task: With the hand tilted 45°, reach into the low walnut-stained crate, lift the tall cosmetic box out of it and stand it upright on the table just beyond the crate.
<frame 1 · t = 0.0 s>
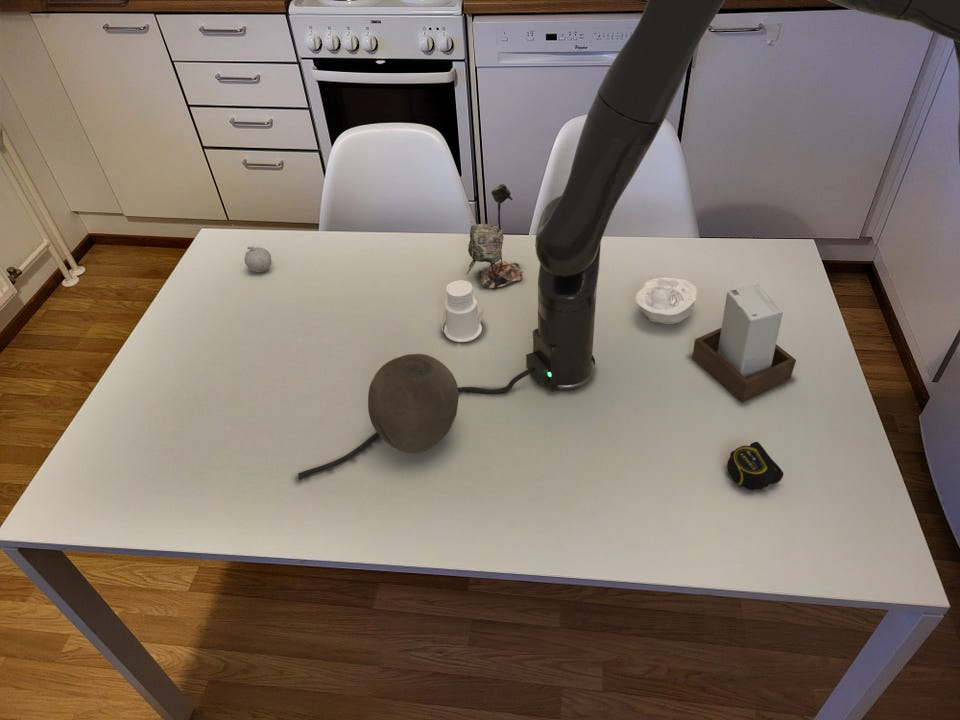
garlic: (260, 269, 161), on the table
crate: (740, 368, 132), on the table
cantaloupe: (419, 435, 125), on the table
cell model: (664, 316, 144), on the table
tape measure: (751, 473, 116), on the table
cosmetic box: (739, 369, 132), resting in crate
downlight: (463, 331, 143), on the table
plant with pod: (495, 278, 155), on the table
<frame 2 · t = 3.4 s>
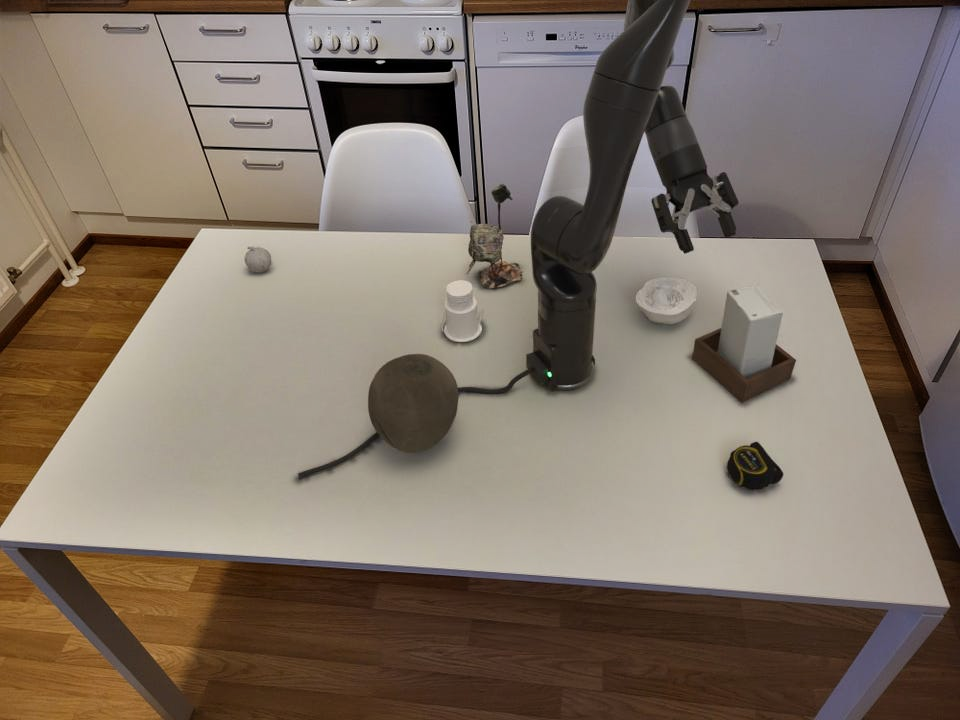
hand: (710, 244, 127), 19 cm above the table, tool tilted 45°, fingers open, 8 cm apart
nothing on the table moved.
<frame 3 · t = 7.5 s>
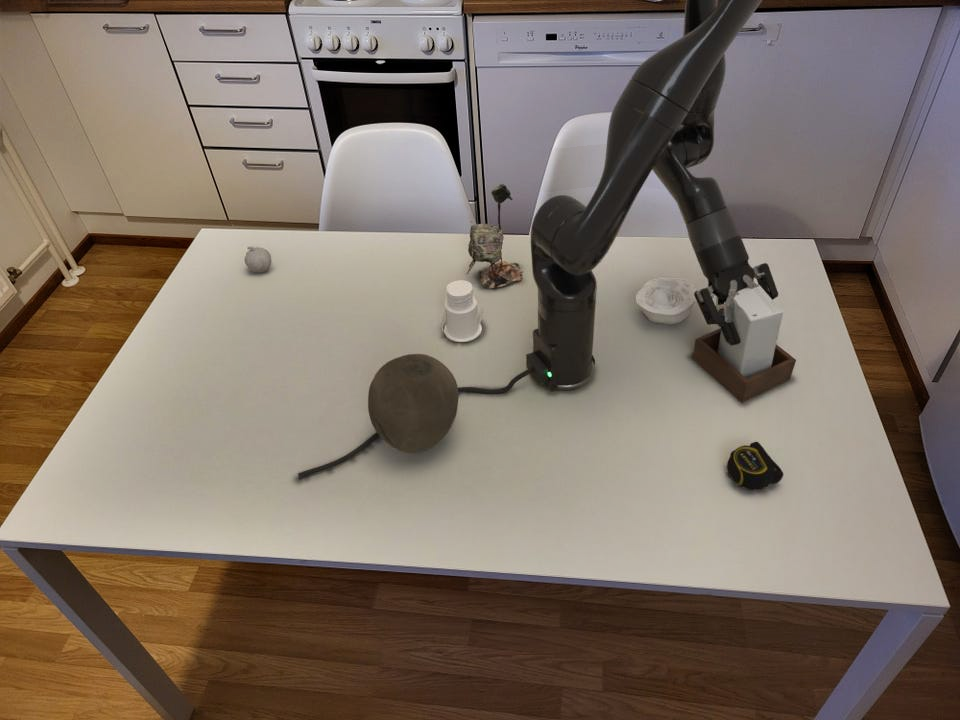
hand: (753, 336, 126), 8 cm above the table, tool tilted 45°, fingers closed on cosmetic box, 7 cm apart
cosmetic box: (739, 369, 132), resting in crate, touching gripper
everything else where it was.
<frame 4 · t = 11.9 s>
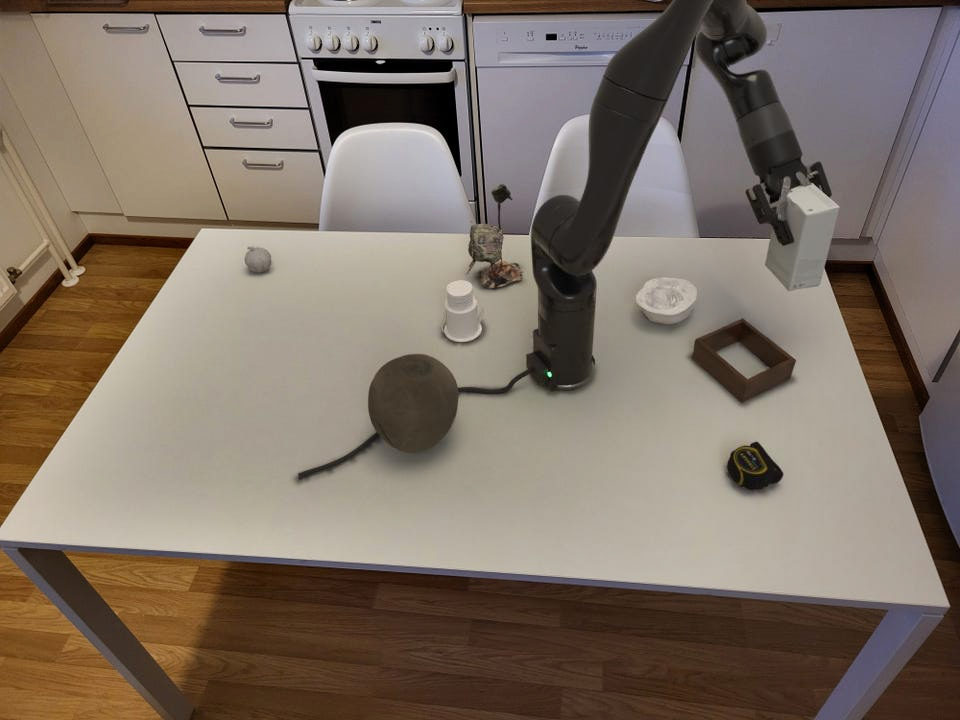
hand: (806, 236, 122), 22 cm above the table, tool tilted 45°, fingers closed on cosmetic box, 7 cm apart
cosmetic box: (789, 275, 128), point 14 cm above the table, touching gripper
everything else where it was.
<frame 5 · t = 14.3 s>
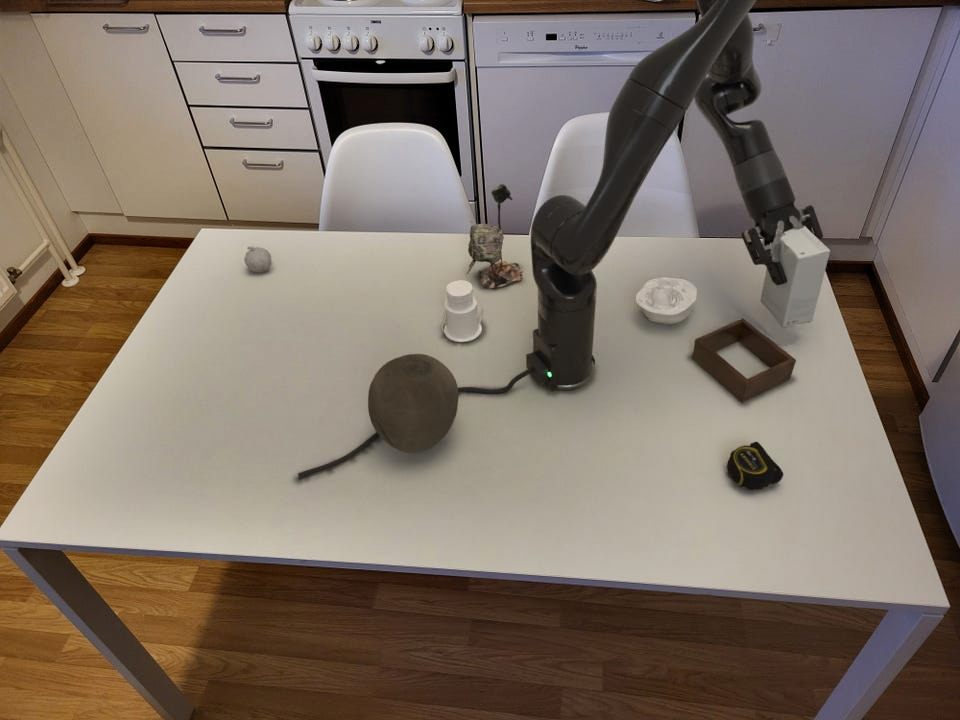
hand: (799, 276, 129), 13 cm above the table, tool tilted 45°, fingers closed on cosmetic box, 7 cm apart
cosmetic box: (783, 311, 135), point 5 cm above the table, touching gripper
everything else where it was.
when the fingers open (8 cm above the table, at t = 16.3 s): cosmetic box stays where it is, on the table.
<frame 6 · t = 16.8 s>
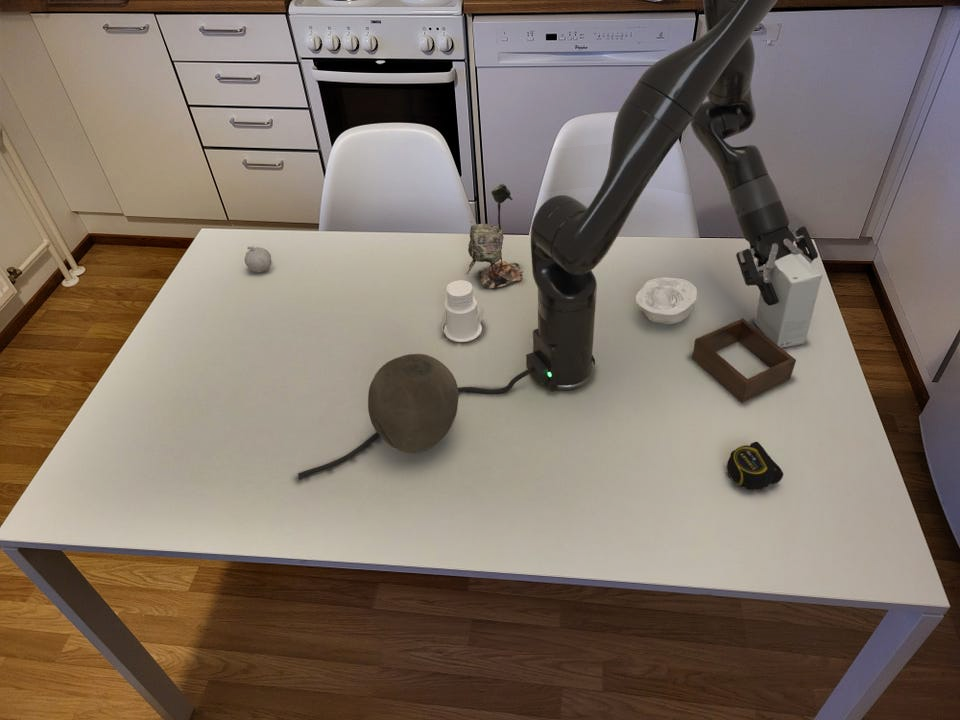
hand: (792, 296, 132), 9 cm above the table, tool tilted 45°, fingers open, 8 cm apart
cosmetic box: (777, 333, 139), on the table
everything else where it was.
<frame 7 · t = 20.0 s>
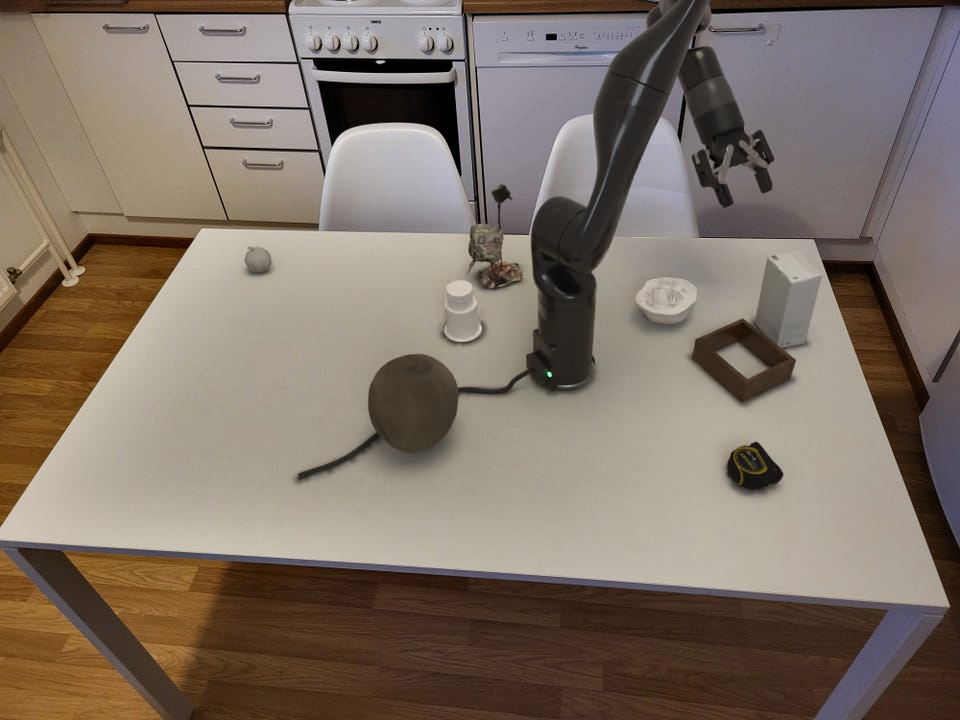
hand: (748, 198, 131), 22 cm above the table, tool tilted 45°, fingers open, 8 cm apart
nothing on the table moved.
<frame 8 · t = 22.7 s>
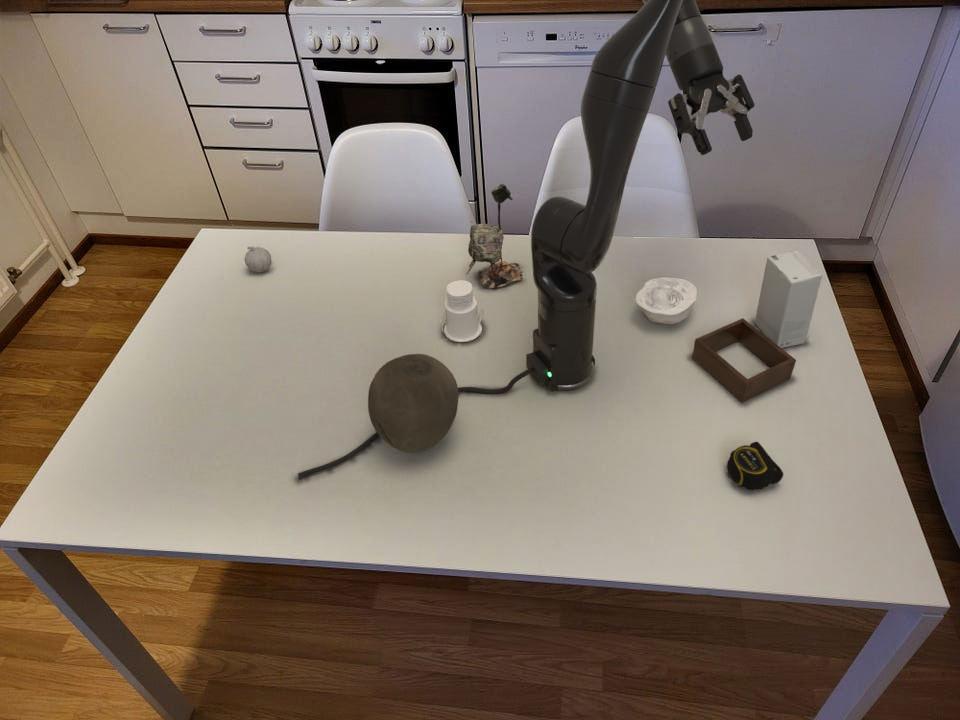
hand: (727, 146, 127), 31 cm above the table, tool tilted 45°, fingers open, 8 cm apart
nothing on the table moved.
at the end: cosmetic box inside the target area (1.1 cm from its centre), on the table; cosmetic box tilted 0°; the gripper is holding nothing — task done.
